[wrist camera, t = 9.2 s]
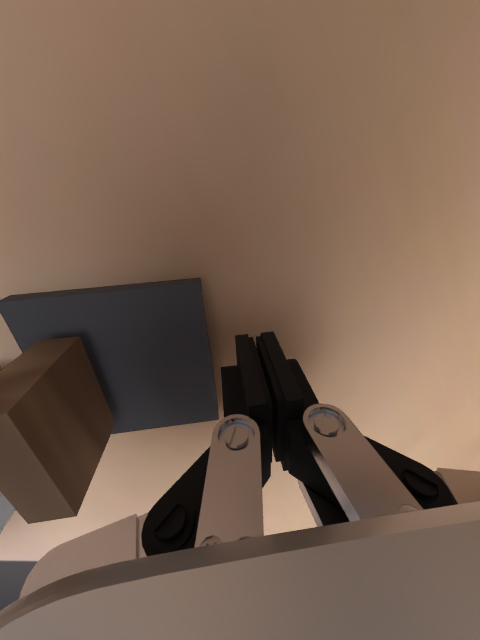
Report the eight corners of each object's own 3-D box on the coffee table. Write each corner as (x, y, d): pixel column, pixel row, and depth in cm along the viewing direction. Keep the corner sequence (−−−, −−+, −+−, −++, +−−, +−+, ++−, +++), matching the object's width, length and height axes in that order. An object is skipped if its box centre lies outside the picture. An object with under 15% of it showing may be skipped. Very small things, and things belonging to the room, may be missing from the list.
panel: (199, 277, 11) (199, 283, 10) (218, 408, 15) (218, 419, 14) (9, 295, 10) (-5, 302, 10) (77, 427, 14) (70, 439, 13)
